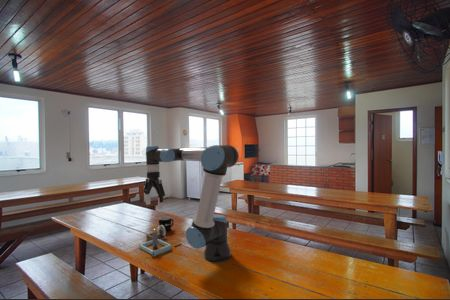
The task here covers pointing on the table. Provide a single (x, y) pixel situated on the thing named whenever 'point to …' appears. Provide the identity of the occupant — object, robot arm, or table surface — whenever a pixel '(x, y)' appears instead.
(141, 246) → the tray
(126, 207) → the table surface
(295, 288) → the table surface
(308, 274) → the table surface
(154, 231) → the pin
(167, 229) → the mug
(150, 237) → the tensioner block
